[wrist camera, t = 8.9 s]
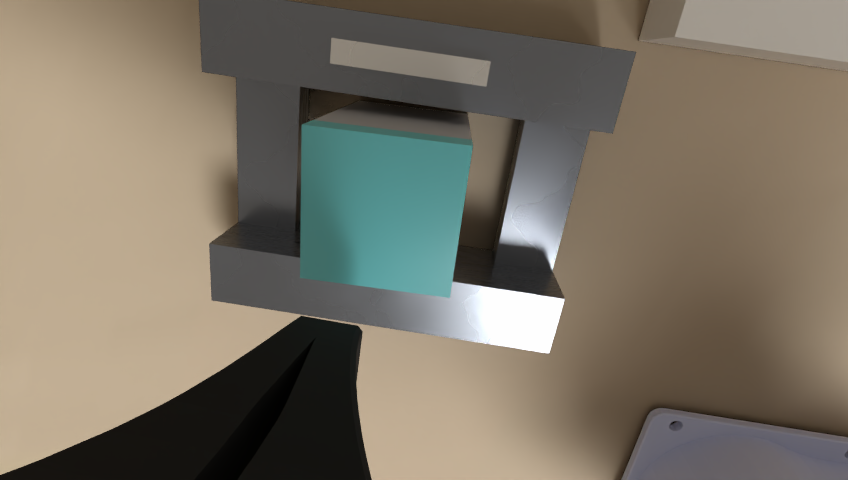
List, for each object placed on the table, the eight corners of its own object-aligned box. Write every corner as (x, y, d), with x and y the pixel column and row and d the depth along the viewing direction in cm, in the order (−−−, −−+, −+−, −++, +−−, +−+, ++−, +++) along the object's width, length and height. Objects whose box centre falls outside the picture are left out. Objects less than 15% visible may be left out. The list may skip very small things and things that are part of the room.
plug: (467, 114, 15) (472, 146, 9) (453, 216, 16) (450, 297, 11) (359, 100, 15) (301, 124, 10) (353, 204, 16) (299, 277, 11)
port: (601, 53, 14) (640, 51, 11) (534, 306, 17) (550, 359, 14) (249, 1, 14) (191, -15, 11) (251, 262, 18) (206, 304, 14)
